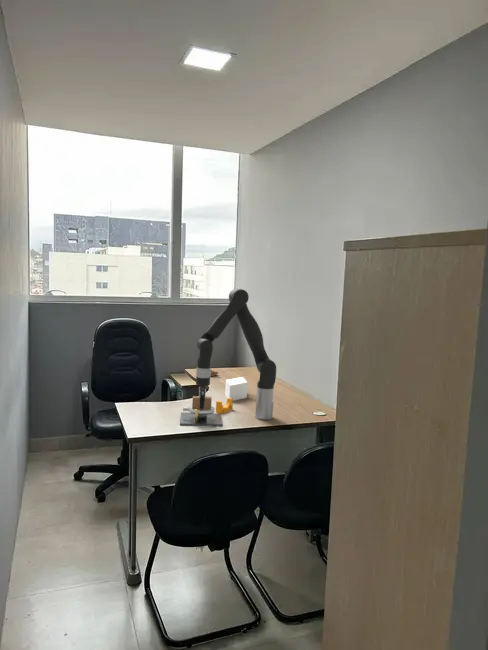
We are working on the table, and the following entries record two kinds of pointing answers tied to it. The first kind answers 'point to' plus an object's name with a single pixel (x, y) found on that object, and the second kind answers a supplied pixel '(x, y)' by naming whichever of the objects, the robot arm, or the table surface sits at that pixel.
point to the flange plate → (200, 412)
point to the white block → (236, 388)
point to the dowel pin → (196, 415)
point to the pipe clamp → (226, 407)
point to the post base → (201, 419)
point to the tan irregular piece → (213, 372)
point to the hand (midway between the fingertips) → (201, 407)
